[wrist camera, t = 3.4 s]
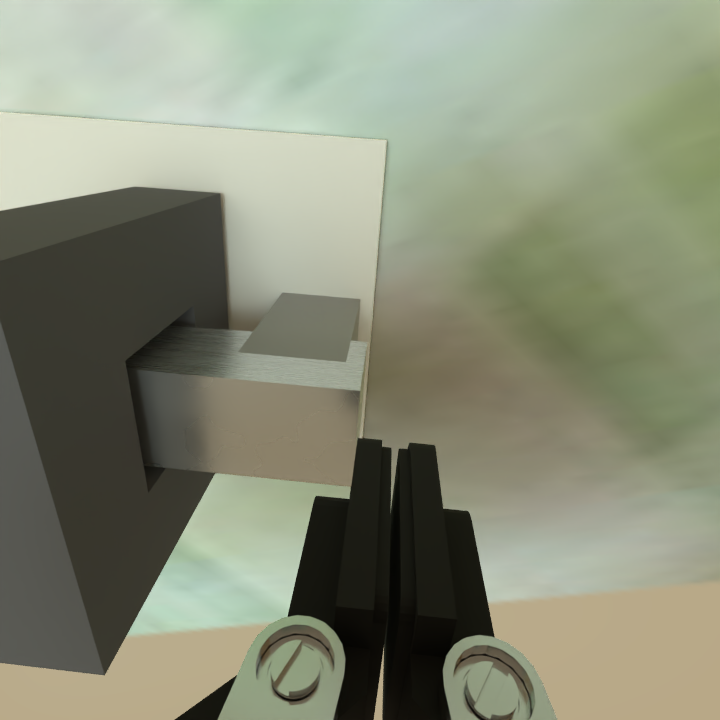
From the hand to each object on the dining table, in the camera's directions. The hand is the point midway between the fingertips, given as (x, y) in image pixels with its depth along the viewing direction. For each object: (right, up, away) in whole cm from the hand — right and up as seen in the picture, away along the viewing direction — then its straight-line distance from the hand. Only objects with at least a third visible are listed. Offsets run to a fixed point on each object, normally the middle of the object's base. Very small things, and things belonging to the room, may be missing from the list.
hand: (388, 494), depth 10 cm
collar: (-7, +4, +8) cm, 12 cm away
